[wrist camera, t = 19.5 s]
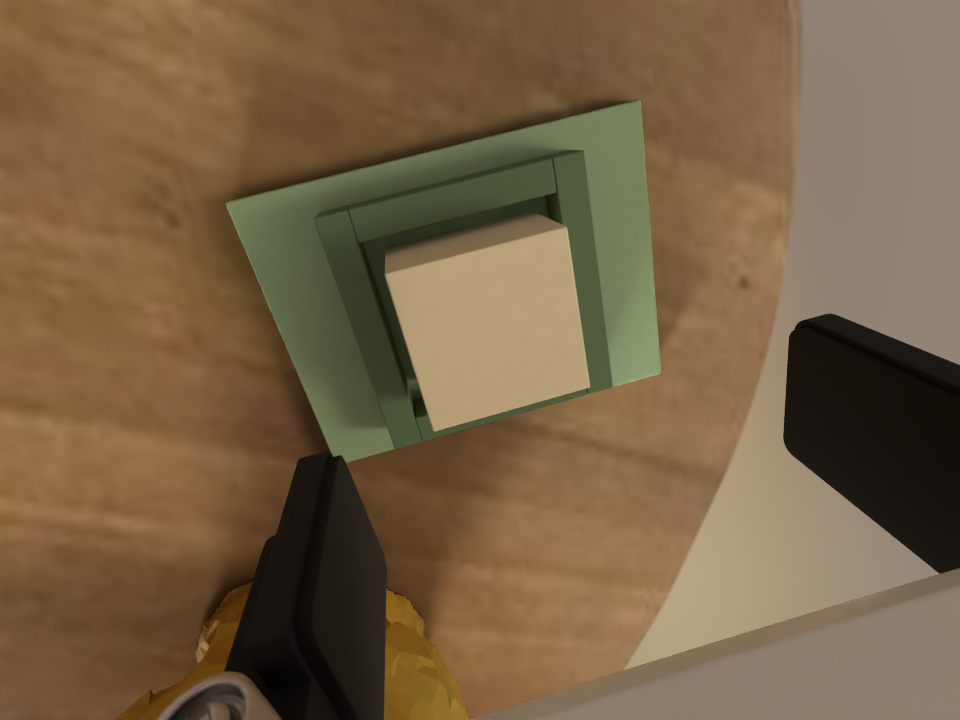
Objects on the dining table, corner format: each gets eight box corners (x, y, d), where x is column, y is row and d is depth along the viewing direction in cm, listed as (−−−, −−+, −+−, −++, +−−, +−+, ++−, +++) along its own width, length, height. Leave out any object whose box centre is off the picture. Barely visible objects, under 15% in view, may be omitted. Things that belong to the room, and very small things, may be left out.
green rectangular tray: (631, 101, 20) (664, 95, 17) (653, 366, 25) (681, 390, 22) (230, 200, 19) (207, 208, 16) (337, 456, 24) (332, 490, 21)
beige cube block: (531, 209, 20) (567, 225, 16) (554, 344, 23) (591, 387, 18) (384, 247, 20) (383, 274, 16) (425, 379, 22) (433, 432, 18)
